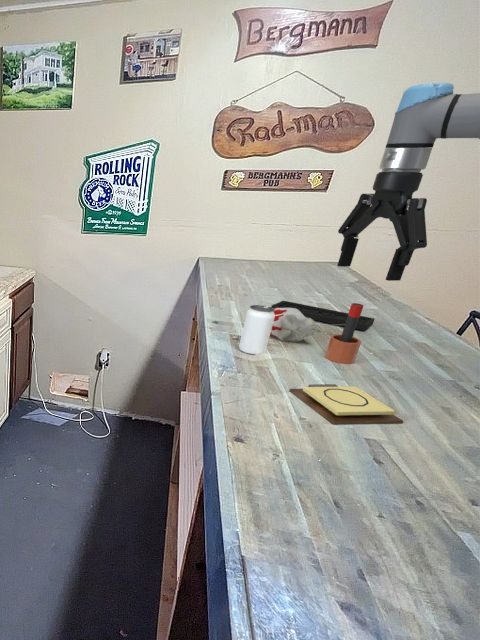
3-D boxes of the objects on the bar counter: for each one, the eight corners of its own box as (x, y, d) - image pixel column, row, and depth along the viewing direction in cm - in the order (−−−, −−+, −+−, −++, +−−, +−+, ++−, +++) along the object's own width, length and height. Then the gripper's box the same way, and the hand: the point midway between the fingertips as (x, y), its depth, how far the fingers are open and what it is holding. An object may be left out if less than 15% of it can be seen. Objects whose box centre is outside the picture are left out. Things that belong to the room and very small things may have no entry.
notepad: (394, 414, 90) (395, 410, 90) (336, 415, 90) (338, 411, 89) (354, 389, 100) (355, 386, 99) (302, 390, 99) (303, 386, 99)
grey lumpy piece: (314, 345, 125) (252, 345, 130) (303, 331, 135) (246, 331, 140) (318, 314, 122) (255, 314, 127) (307, 302, 131) (249, 303, 137)
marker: (347, 360, 116) (366, 305, 110) (338, 360, 116) (356, 306, 110) (340, 357, 118) (358, 303, 112) (331, 357, 118) (349, 303, 112)
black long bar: (379, 314, 146) (356, 332, 128) (376, 322, 148) (353, 342, 129) (289, 297, 164) (257, 311, 145) (287, 305, 165) (255, 320, 147)
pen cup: (359, 365, 114) (367, 343, 112) (335, 365, 114) (342, 343, 112) (342, 355, 120) (349, 334, 118) (318, 356, 120) (325, 334, 117)
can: (233, 348, 124) (242, 306, 119) (248, 344, 127) (258, 303, 122) (254, 357, 119) (265, 313, 114) (270, 352, 122) (282, 309, 117)
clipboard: (402, 423, 89) (405, 416, 89) (333, 424, 89) (335, 417, 88) (350, 390, 102) (352, 383, 102) (289, 391, 102) (291, 384, 101)
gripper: (338, 169, 105) (312, 261, 114) (441, 173, 83) (399, 287, 91) (368, 169, 106) (340, 261, 115) (479, 173, 83) (434, 286, 92)
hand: (366, 272), depth 103 cm, fingers open, 13 cm apart
